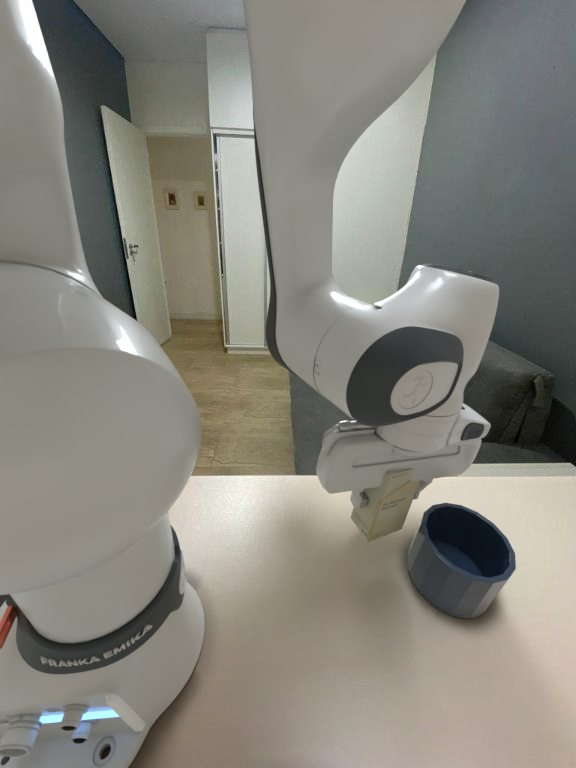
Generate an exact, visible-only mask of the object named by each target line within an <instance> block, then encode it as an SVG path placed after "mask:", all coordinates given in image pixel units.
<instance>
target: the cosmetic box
mask: <svg viewBox="0 0 576 768" xmlns="http://www.w3.org/2000/svg"><path fill="white" fill-rule="evenodd" d="M413 471H414V468H413V469H408V470H397V471H388V472H386V473H385V476H384V479H383V482H382V485H381V486H380V487H374V488H367V489H364V495H366V497H367V498H368V502H367V504H366V507H364V508H359V509H355V508H354V507H353V506H352V507H353V508H352V510H351V515H350V519H351V520H352V522H353V523H354V525H355V526H356V527H357V529H358V531H359V533H361V535H362V536H363V538H365V540H366V541H367V542H372V541H375V540H377V539H380V538H384V537H385V536H388V535H391V534H392V533H396V532H398V531H400V530H402V529H403V527H404V524H405V522H406V519H407V516H408V514H409V511H410V509H411V507H412V506H411V505H412V504H413V501H414V500H413V498H414V495H415V493H416V490H417V488H418V485H419V482H420V481H415V482H412V481H411V480H410V478H411V476H412V473H413Z"/></svg>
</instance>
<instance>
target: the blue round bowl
mask: <svg viewBox="0 0 576 768" xmlns="http://www.w3.org/2000/svg"><path fill="white" fill-rule="evenodd" d="M516 563H517V561H516V553H515V550H514V548H513V547H512V544H511V543H510V540H509V538H508V537H507V536H506V535H505V534H504V533H503V532H502V531H501V530H500V529H499V528H498V526H497V525H496V524H495V523H494V522H493V521H491V520H490V519H488V518H486V517H485V516H484V515H482V514H481V513H479V512H478V511H476V510H474V509H471V508H469V507H467V506H464V505H461V504H457V503H452V502H451V503H450V502H442V503H435V504H432V505H431V506H429V508H427V509H426V510H425V511H424V512H423V514H422V516H421V518H420V521H419V524H418V525H417V529H416V531H415V533H414V536H413V538H412V541H411V543H410V546H409V549H408V552H407V556H406V568H407V572H408V575H409V577H410V580H411V582H412V584H413V585H414V586H415V588H416V589H417V591H418V592H419V593H420V595H421V596H422V597H423V598H424V599H425V600H426V601H427V602H428V603H429V604H430V605H432V606H433V607H435V608H436V609H437V610H439V611H440V612H442V613H445V614H446V615H449V616H451V617H455V618H458V619H474V618H478V617H480V616H481V615H482V614H484V613H486V611H487V609H488V608H489V607H490V605H491V604H492V602H493V601H494V600H495V599H496V597H497V596H498V595H499V593H500V591H501V590H502V589H503V588H504V586H505V585H506V583H507V582H508V580H509V579H511V576H512V575H513V574H514V573H515V571H516V569H517V565H516Z"/></svg>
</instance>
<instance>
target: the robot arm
mask: <svg viewBox="0 0 576 768" xmlns="http://www.w3.org/2000/svg"><path fill="white" fill-rule="evenodd" d="M466 2H467V0H242V4H243V13H244V22H245V29H246V30H245V31H246V37H247V38H246V39H247V47H248V56H249V67H250V69H249V70H250V80H251V81H250V82H251V97H252V98H251V99H252V119H253V134H254V135H253V140H254V153H255V155H254V156H255V167H256V177H257V183H258V184H257V185H258V192H259V193H258V194H259V200H260V209H261V217H262V224H263V225H262V226H263V232H264V240H265V241H264V242H265V248H266V249H265V250H266V257H267V265H268V272H269V284H270V285H269V290H270V291H269V301H268V303H269V304H268V308H267V313H266V320H265V341H266V346H267V349H268V352H269V354H270V356H271V357H272V358H273V360H274V361H275V362H276V363H277V364H278V365H279V366H280V367H282V368H284V369H285V370H287V371H288V372H290V373H291V374H292V375H295V376H296V377H298V378H300V379H301V380H302V381H304V383H306V384H307V385H308V386H310V387H311V388H312V389H313V390H314V391H316V392H317V393H318V394H319V395H320V396H321V397H323V398H325V399H326V400H328V401H329V402H330V403H332V404H333V405H334V406H335V407H336V408H338V410H340V411H342V412H343V413H344V414H345V415H346V416H348V417H349V418H351V419H352V420H349V419H347V420H341V421H337V423H336V424H335V425H333V426H331V427H330V428H328V429H326V430H325V431H324V433H323V437H322V442H321V443H322V444H321V449H320V452H319V455H318V458H317V461H316V468H315V473H316V475H317V478H318V482H319V483H320V485H321V487H322V488H323V489H324V490H325V492H327V493H328V494H339V493H344V492H351V494H350V498H349V501H350V503H351V505H352V507H354V508H355V509H359V508H364V507H366V504H367V502H368V498H367V497H366V495H364V489H367V488H374V487H380V486H381V485H382V482H383V479H384V476H385V473H386V472H388V471H397V470H408V469H413V468H414V471H413V473H412V476H411V478H410V480H411V481H412V482H415V481H420V482H419V485H418V488H417V490H416V493H415V495H414V498H413V501H414V500H418V499H419V496H420V494H421V492H422V491H424V489H426V488H427V487H428V486H429V485H431V484H432V483H433V480H434V479H441V478H448V477H455V476H461V475H462V474H464V473H465V472H467V471H468V470H469V469H470V468H471V466H472V465H473V463H474V461H475V459H476V457H477V455H478V453H479V450H480V449H481V445H482V439H483V438H485V437H486V436H487V435H488V434H489V432H490V429H491V427H492V425H491V423H490V422H489V421H488V420H487V419H486V418H485V417H483V416H482V415H481V414H479V413H478V412H477V411H476V410H474V409H473V408H472V407H470V406H469V405H468V404H465V403H464V396H465V395H464V394H465V390H466V387H467V385H468V383H469V381H470V380H471V379H472V378H473V377H474V376H475V374H476V373H477V371H478V369H479V367H480V364H481V362H482V360H483V357H484V354H485V351H486V348H487V345H488V342H489V339H490V337H491V333H492V330H493V327H494V323H495V319H496V314H497V310H498V305H499V300H500V299H499V298H500V286H499V285H498V283H496V282H495V281H494V279H492V278H491V277H489V276H487V275H485V274H483V273H479V272H477V271H473V270H466V269H462V268H460V267H456V266H452V265H446V264H440V263H431V262H430V263H423V264H418V265H416V266H415V267H414V268H413V269H412V271H411V273H410V276H409V277H408V280H407V282H406V284H405V285H404V286H402V288H400V289H399V290H397V291H396V292H395V293H393V294H392V295H390V296H388V297H386V298H384V299H383V300H380V301H377V302H374V303H373V304H370V303H368V302H365V301H363V300H361V299H357V298H355V297H352V296H349V295H347V294H346V293H345V292H344V291H343V290H342V289H341V288H340V287H339V285H338V284H337V282H336V281H335V278H334V275H333V225H334V223H333V222H334V220H333V218H334V193H335V187H336V183H337V178H338V175H339V173H340V170H341V167H342V165H343V163H344V162H345V159H346V158H347V156H348V154H349V153H350V151H351V149H353V147H354V145H355V144H356V143H357V142H358V140H359V139H360V138H361V136H362V135H363V134H364V133H365V132H366V131H367V130H368V128H370V126H372V124H373V123H374V122H376V120H377V119H378V118H380V116H382V115H383V114H384V113H385V112H386V111H387V110H388V109H389V108H390V107H392V105H394V104H395V103H396V102H397V101H398V100H399V99H400V98H401V97H402V96H403V95H404V94H405V93H406V91H407V90H409V88H410V87H411V86H412V85H413V84H414V83H415V81H416V80H417V79H418V78H419V77H420V75H421V74H422V73H423V71H425V69H426V68H427V67H428V65H429V64H430V62H431V61H432V60H433V58H434V56H435V55H436V54H437V52H438V51H439V49H440V48H441V47H442V45H443V43H444V42H445V40H446V39H447V37H448V35H449V33H450V32H451V30H452V28H453V26H454V25H455V23H456V21H457V20H458V17H459V16H460V13H461V12H462V10H463V8H464V6H465V4H466ZM38 18H39V17H38V15H37V11H36V7H35V5H34V1H33V0H0V768H129V767H130V765H132V763H133V761H134V759H135V758H136V756H137V755H138V753H139V751H140V750H141V747H142V746H143V744H144V741H145V739H146V738H147V735H148V734H149V732H150V729H151V728H152V727H153V725H154V724H155V722H156V721H157V720H158V718H160V716H161V715H162V714H163V713H164V712H165V711H166V710H167V709H168V707H170V705H171V704H172V703H173V702H174V701H175V699H177V697H178V696H179V695H180V693H181V692H182V690H183V689H184V687H185V686H186V685H187V683H188V681H189V680H190V678H191V676H192V674H193V672H194V670H195V667H196V666H197V663H198V660H199V658H200V655H201V652H202V648H203V644H204V638H205V629H206V621H205V620H206V618H205V611H204V607H203V603H202V600H201V598H200V596H199V594H198V592H197V591H196V589H195V588H194V587H193V585H191V584H190V582H188V581H187V569H186V564H185V558H184V554H183V550H182V549H181V544H180V541H179V538H178V534H177V532H176V530H175V529H174V527H173V525H172V524H171V521H170V515H169V512H170V510H171V508H173V506H174V505H175V503H176V502H177V500H178V499H179V498H180V496H181V495H182V493H183V491H184V490H185V488H186V486H187V485H188V482H189V480H190V478H191V476H192V474H193V471H194V469H195V467H196V464H197V461H198V458H199V454H200V451H201V444H202V433H203V432H202V420H201V415H200V411H199V408H198V405H197V402H196V400H195V398H194V396H193V395H192V393H191V391H190V389H189V388H188V386H187V385H186V383H185V381H184V380H183V378H182V377H181V375H180V372H179V371H178V370H177V368H176V366H175V365H174V362H173V361H172V360H171V359H170V358H169V356H168V354H167V353H166V352H165V350H164V349H163V347H162V346H161V345H160V343H159V342H158V341H157V339H156V338H155V337H154V336H153V335H152V333H150V331H149V330H148V329H146V328H145V327H144V326H143V324H141V323H140V322H139V321H137V320H136V319H135V318H133V317H132V316H130V315H129V314H128V313H126V312H124V311H123V310H122V309H120V308H119V307H117V306H115V305H114V304H112V303H111V302H110V301H108V300H107V299H105V298H104V297H103V296H102V294H101V293H100V290H99V289H98V288H97V286H96V284H95V282H94V281H93V278H92V275H91V274H90V271H89V267H88V264H87V260H86V256H85V252H84V248H83V244H82V239H81V234H80V228H79V224H78V218H77V214H76V213H77V212H76V208H75V202H74V197H73V191H72V185H71V180H70V174H69V167H68V159H67V152H66V141H65V119H64V107H63V102H62V99H61V98H62V97H61V93H60V90H59V86H58V83H57V79H56V76H55V74H54V70H53V67H52V63H51V59H50V56H49V52H48V49H47V45H46V43H45V38H44V36H43V32H42V29H41V25H40V21H39V19H38ZM108 747H110V751H109V753H108V755H107V756H106V757H105V758H102V755H103V752H104V751H105V750H106V748H108Z"/></svg>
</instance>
